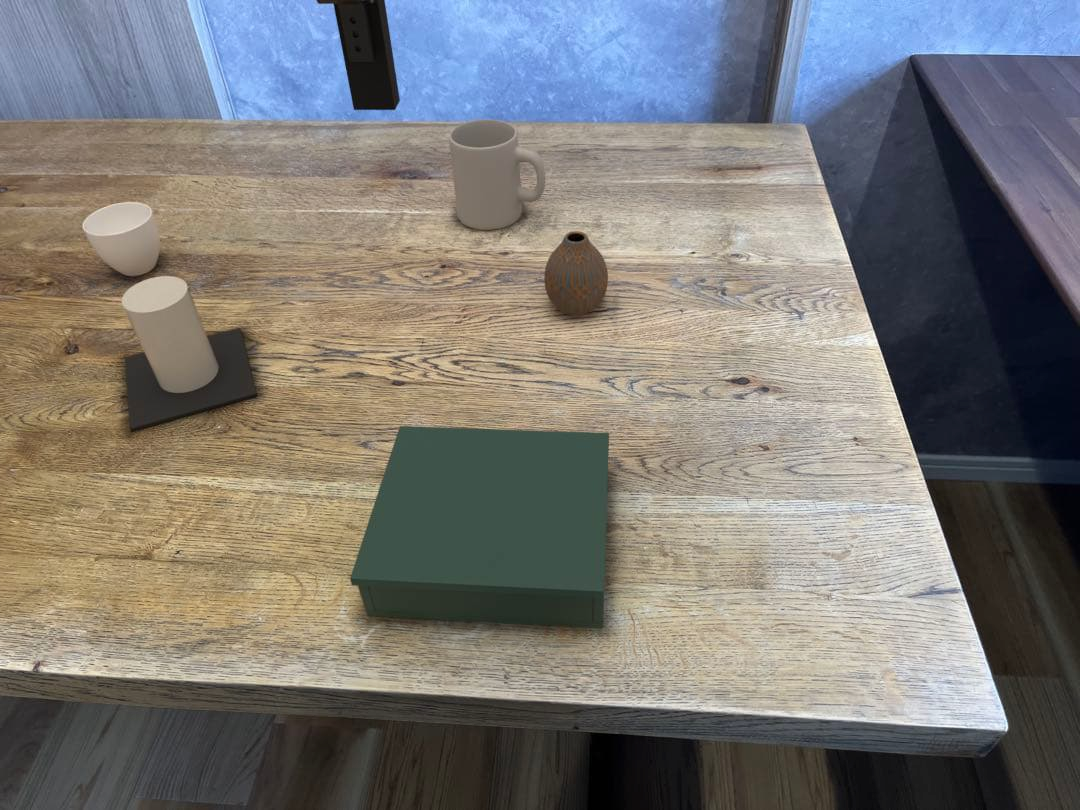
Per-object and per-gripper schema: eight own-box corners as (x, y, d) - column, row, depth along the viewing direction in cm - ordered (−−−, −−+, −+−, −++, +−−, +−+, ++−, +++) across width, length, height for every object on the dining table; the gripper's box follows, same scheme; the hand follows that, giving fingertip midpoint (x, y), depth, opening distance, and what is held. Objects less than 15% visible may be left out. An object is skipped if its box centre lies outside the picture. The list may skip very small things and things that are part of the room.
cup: (125, 292, 96) (103, 242, 92) (84, 264, 101) (60, 215, 97) (183, 263, 100) (164, 214, 96) (140, 238, 105) (120, 190, 101)
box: (603, 628, 61) (604, 595, 58) (366, 616, 62) (356, 582, 59) (607, 474, 72) (608, 439, 69) (408, 466, 74) (401, 432, 71)
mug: (447, 226, 105) (437, 144, 98) (471, 194, 111) (463, 115, 103) (536, 238, 102) (532, 155, 95) (555, 205, 108) (553, 124, 101)
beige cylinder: (179, 401, 81) (142, 320, 74) (147, 377, 84) (108, 297, 77) (230, 370, 84) (200, 289, 77) (197, 348, 87) (165, 268, 80)
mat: (257, 396, 82) (256, 393, 81) (131, 431, 78) (129, 428, 78) (241, 330, 90) (240, 327, 90) (126, 360, 87) (124, 357, 86)
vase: (570, 331, 88) (569, 262, 82) (533, 302, 92) (529, 234, 86) (619, 308, 90) (622, 239, 85) (581, 281, 95) (581, 213, 89)
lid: (604, 598, 57) (604, 591, 56) (351, 585, 58) (349, 578, 58) (609, 439, 69) (609, 432, 69) (400, 432, 71) (399, 425, 70)
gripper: (257, -397, 42) (346, 68, 58) (146, -412, 32) (289, 150, 48) (400, -405, 41) (450, 67, 57) (329, -422, 32) (414, 150, 48)
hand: (377, 104), depth 53 cm, fingers closed
